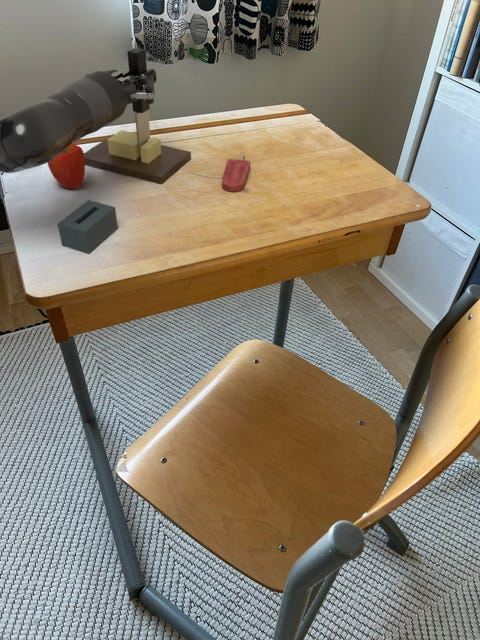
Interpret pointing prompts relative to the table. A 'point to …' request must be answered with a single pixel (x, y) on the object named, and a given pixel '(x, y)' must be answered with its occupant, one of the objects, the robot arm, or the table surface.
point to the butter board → (138, 163)
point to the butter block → (124, 145)
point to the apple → (69, 167)
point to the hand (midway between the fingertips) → (147, 73)
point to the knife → (140, 106)
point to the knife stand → (88, 226)
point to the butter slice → (150, 150)
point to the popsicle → (235, 174)
